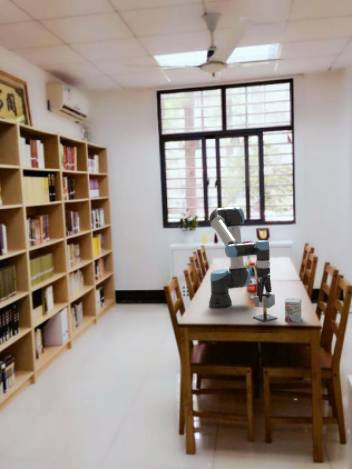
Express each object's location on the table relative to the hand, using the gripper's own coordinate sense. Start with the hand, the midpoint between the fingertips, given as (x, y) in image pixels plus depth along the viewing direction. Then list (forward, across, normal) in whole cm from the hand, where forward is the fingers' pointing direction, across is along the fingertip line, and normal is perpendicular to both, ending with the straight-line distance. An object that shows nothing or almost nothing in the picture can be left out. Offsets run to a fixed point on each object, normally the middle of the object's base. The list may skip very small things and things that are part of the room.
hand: (264, 305), depth 256 cm
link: (0, 0, 0) cm, 0 cm away
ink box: (+8, +4, -16) cm, 18 cm away
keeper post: (+8, 0, 0) cm, 8 cm away
